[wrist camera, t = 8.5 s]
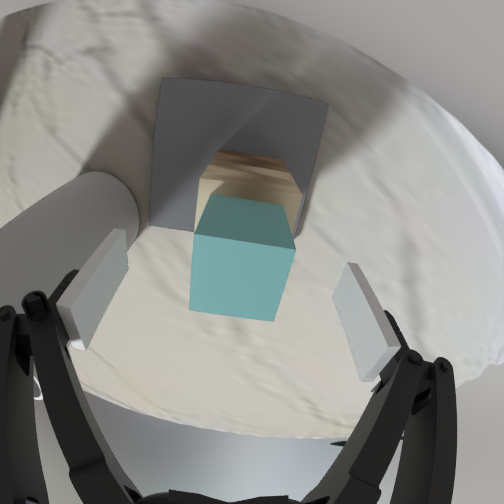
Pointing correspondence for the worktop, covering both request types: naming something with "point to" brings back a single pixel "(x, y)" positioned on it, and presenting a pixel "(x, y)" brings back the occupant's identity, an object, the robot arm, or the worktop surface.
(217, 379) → the worktop surface
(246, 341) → the worktop surface
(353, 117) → the worktop surface
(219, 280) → the teal block
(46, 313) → the robot arm
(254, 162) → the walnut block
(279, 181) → the beech block
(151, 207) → the slate board
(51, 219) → the cylinder vase
